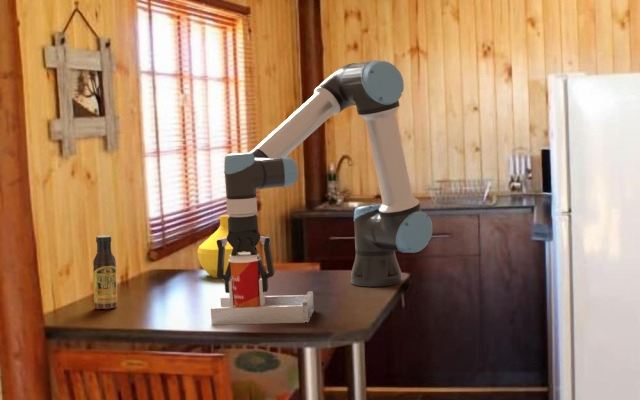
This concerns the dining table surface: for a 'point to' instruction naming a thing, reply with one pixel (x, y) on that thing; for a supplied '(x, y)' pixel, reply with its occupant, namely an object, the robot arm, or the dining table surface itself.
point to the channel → (266, 311)
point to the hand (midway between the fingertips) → (247, 304)
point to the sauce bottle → (104, 275)
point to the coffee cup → (245, 279)
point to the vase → (215, 249)
